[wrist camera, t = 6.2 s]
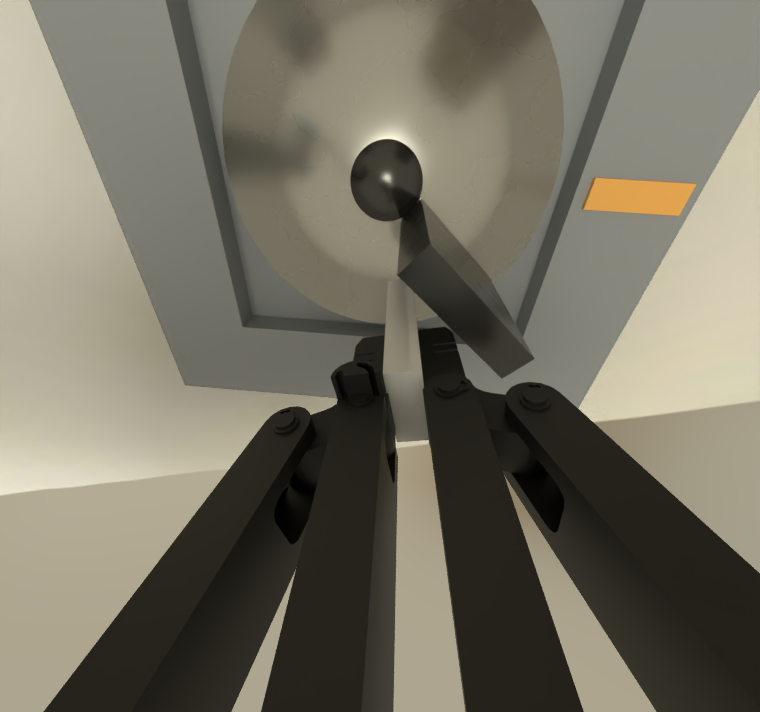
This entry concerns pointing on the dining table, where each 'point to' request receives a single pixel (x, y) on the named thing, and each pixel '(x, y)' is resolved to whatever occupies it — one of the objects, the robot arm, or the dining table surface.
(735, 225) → the dining table surface
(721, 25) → the panel
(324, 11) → the dial
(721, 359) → the dining table surface
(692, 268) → the dining table surface
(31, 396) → the dining table surface
